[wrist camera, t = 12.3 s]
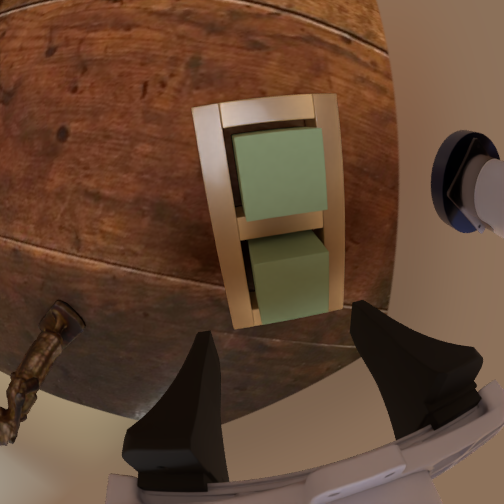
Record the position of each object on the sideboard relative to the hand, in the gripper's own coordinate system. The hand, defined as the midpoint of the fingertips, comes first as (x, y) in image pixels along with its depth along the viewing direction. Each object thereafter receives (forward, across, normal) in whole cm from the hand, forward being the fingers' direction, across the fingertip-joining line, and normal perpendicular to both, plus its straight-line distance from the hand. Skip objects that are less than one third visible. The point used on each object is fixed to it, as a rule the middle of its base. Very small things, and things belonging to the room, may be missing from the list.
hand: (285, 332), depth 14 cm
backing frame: (+9, -2, -3) cm, 10 cm away
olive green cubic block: (+9, -2, 0) cm, 9 cm away
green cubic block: (+9, -2, -7) cm, 11 cm away
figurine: (+10, +20, +4) cm, 22 cm away
